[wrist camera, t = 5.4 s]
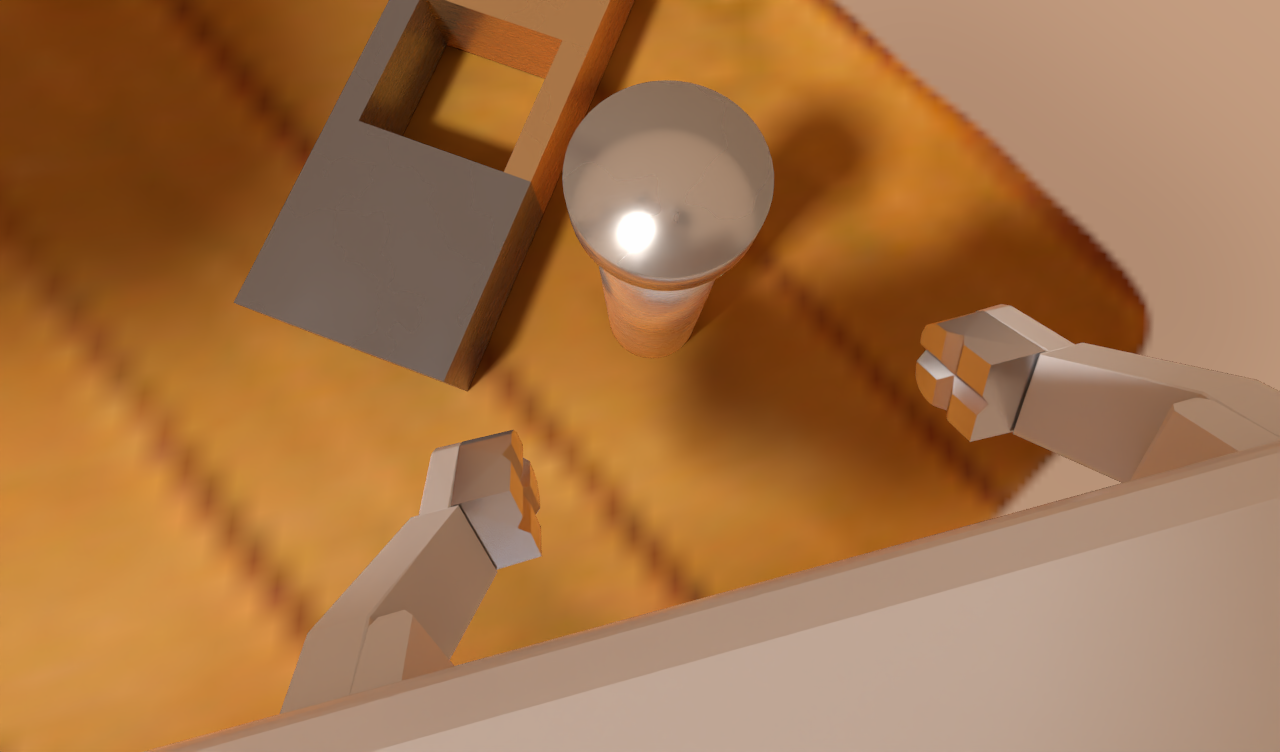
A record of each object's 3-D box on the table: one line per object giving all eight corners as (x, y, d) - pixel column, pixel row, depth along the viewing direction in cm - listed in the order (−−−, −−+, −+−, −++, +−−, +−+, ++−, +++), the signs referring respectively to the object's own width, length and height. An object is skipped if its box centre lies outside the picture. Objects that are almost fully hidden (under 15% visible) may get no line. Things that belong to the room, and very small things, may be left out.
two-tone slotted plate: (467, 391, 19) (443, 381, 17) (282, 321, 19) (233, 302, 17) (657, -52, 22) (659, -113, 20) (494, -105, 22) (477, -172, 20)
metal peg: (684, 384, 19) (734, 307, 10) (582, 346, 19) (529, 234, 10) (720, 285, 20) (801, 119, 10) (621, 250, 20) (607, 53, 10)
